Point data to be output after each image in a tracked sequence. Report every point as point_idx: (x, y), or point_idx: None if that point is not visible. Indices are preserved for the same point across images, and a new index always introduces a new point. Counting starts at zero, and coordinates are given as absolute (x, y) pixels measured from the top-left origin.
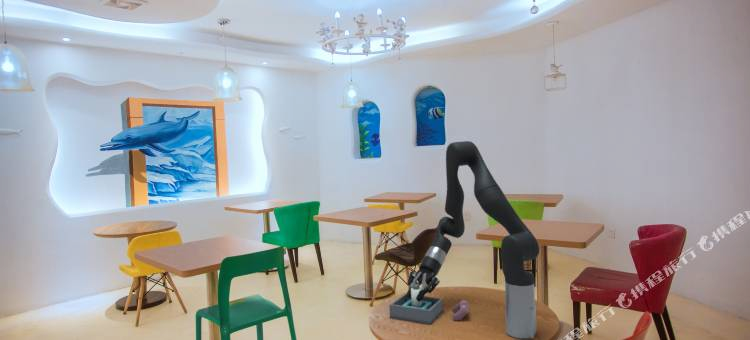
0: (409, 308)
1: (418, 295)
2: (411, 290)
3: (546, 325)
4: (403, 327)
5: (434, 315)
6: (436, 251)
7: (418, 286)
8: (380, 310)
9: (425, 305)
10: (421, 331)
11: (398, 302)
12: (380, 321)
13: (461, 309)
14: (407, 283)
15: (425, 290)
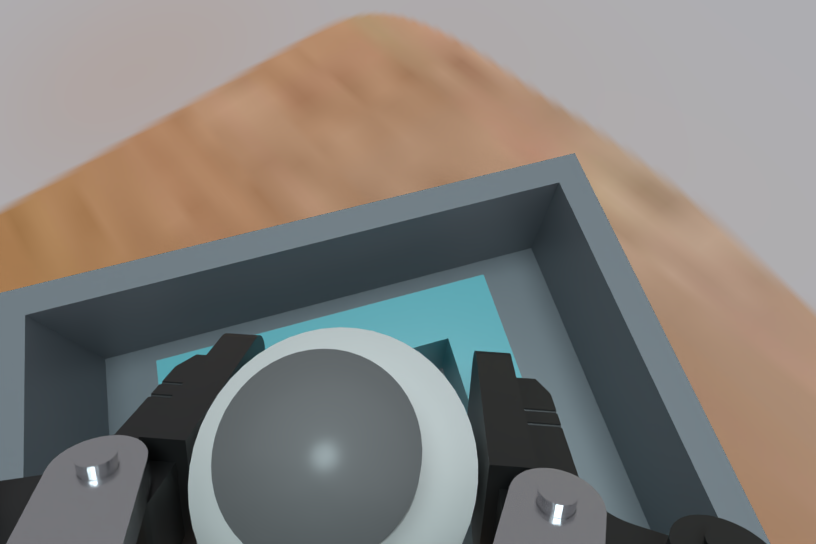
0: (297, 225)
1: (211, 360)
2: (398, 347)
3: None
4: (288, 161)
5: None
6: None
7: (224, 443)
8: (786, 328)
9: None
10: (105, 189)
11: (630, 374)
12: (538, 137)
13: None
14: (747, 539)
15: (25, 478)
